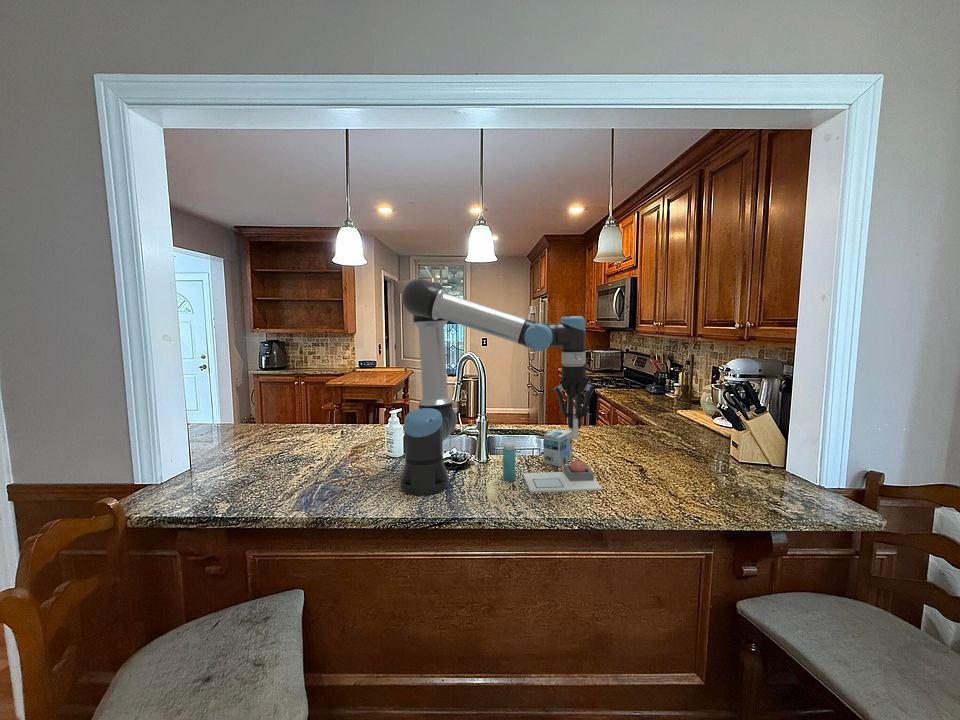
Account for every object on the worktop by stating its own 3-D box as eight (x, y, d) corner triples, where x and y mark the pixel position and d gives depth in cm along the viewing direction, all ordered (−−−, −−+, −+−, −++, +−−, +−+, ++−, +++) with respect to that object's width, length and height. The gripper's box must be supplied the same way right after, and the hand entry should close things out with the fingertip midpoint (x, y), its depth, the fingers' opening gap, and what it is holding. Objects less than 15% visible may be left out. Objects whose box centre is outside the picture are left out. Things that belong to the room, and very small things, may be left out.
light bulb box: (560, 467, 139) (560, 437, 138) (543, 463, 143) (543, 434, 142) (572, 458, 147) (573, 430, 146) (556, 455, 151) (556, 427, 150)
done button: (572, 475, 126) (572, 466, 126) (568, 469, 131) (568, 461, 131) (588, 475, 127) (588, 465, 126) (583, 469, 132) (583, 460, 131)
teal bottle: (503, 481, 127) (503, 445, 126) (502, 476, 131) (502, 441, 130) (516, 481, 127) (515, 444, 126) (514, 476, 131) (514, 441, 130)
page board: (530, 492, 118) (530, 483, 118) (522, 474, 132) (522, 466, 132) (602, 490, 120) (602, 480, 119) (587, 472, 133) (587, 464, 133)
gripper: (556, 367, 121) (557, 442, 124) (597, 365, 122) (598, 440, 124) (550, 364, 129) (552, 435, 131) (590, 363, 129) (590, 433, 132)
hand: (574, 437), depth 128 cm, fingers closed
